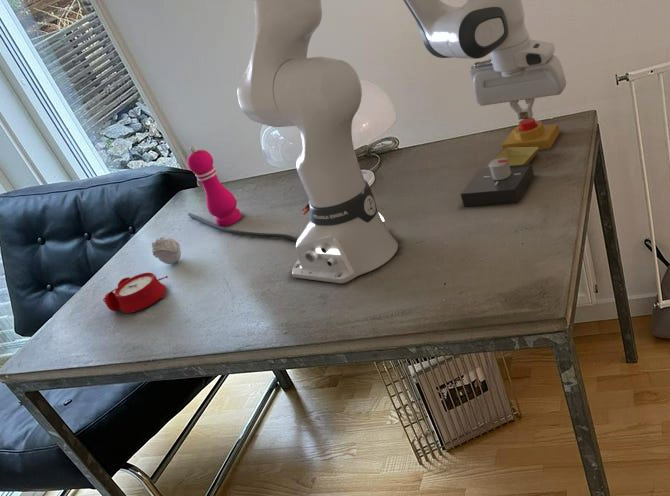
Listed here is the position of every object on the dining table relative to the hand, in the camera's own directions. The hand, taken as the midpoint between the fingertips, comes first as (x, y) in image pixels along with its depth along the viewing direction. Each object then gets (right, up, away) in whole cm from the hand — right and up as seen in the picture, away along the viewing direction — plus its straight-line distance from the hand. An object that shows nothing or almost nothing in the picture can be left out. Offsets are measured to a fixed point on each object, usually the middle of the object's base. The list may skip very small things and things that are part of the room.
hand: (526, 117), depth 167 cm
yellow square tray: (-3, -12, -3) cm, 12 cm away
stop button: (+1, -2, +1) cm, 2 cm away
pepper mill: (-72, -19, +19) cm, 77 cm away
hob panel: (-7, -19, -12) cm, 23 cm away
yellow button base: (+2, -5, +3) cm, 6 cm away
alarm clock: (-85, -41, -3) cm, 95 cm away
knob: (-6, -16, -13) cm, 22 cm away
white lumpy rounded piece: (-81, -32, +8) cm, 88 cm away
